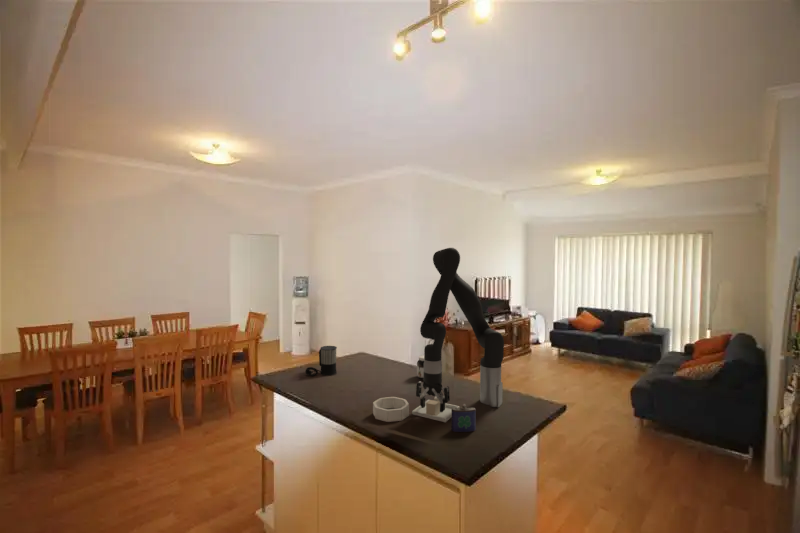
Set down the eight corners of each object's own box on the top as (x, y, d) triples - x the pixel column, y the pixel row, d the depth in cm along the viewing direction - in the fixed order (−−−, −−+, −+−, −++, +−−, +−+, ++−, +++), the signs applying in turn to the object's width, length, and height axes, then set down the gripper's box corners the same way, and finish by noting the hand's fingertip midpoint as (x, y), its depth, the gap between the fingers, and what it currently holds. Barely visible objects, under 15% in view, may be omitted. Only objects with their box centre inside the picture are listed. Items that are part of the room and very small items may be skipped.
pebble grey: (445, 407, 160) (445, 396, 160) (443, 411, 157) (443, 399, 157) (436, 406, 162) (436, 394, 162) (434, 409, 158) (434, 398, 158)
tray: (459, 411, 159) (459, 406, 159) (445, 424, 146) (445, 419, 146) (428, 404, 167) (428, 399, 167) (412, 416, 154) (412, 411, 154)
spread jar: (414, 376, 207) (415, 355, 207) (433, 373, 211) (433, 353, 211) (423, 382, 196) (423, 360, 196) (442, 380, 200) (443, 358, 200)
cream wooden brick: (439, 413, 154) (439, 401, 154) (435, 417, 151) (435, 405, 150) (430, 411, 156) (430, 399, 156) (426, 415, 153) (426, 403, 153)
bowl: (413, 413, 156) (414, 401, 156) (396, 426, 144) (396, 412, 144) (385, 407, 163) (386, 394, 163) (367, 418, 151) (367, 405, 151)
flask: (474, 430, 141) (474, 402, 141) (476, 434, 138) (477, 405, 138) (450, 431, 141) (450, 403, 140) (452, 435, 138) (452, 406, 137)
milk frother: (340, 372, 213) (340, 346, 213) (320, 380, 200) (320, 352, 200) (322, 368, 221) (322, 343, 221) (301, 375, 208) (301, 349, 207)
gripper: (452, 370, 153) (452, 410, 153) (421, 365, 160) (421, 403, 160) (444, 375, 146) (444, 416, 146) (413, 369, 154) (412, 409, 154)
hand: (432, 409), depth 153 cm, fingers open, 8 cm apart
